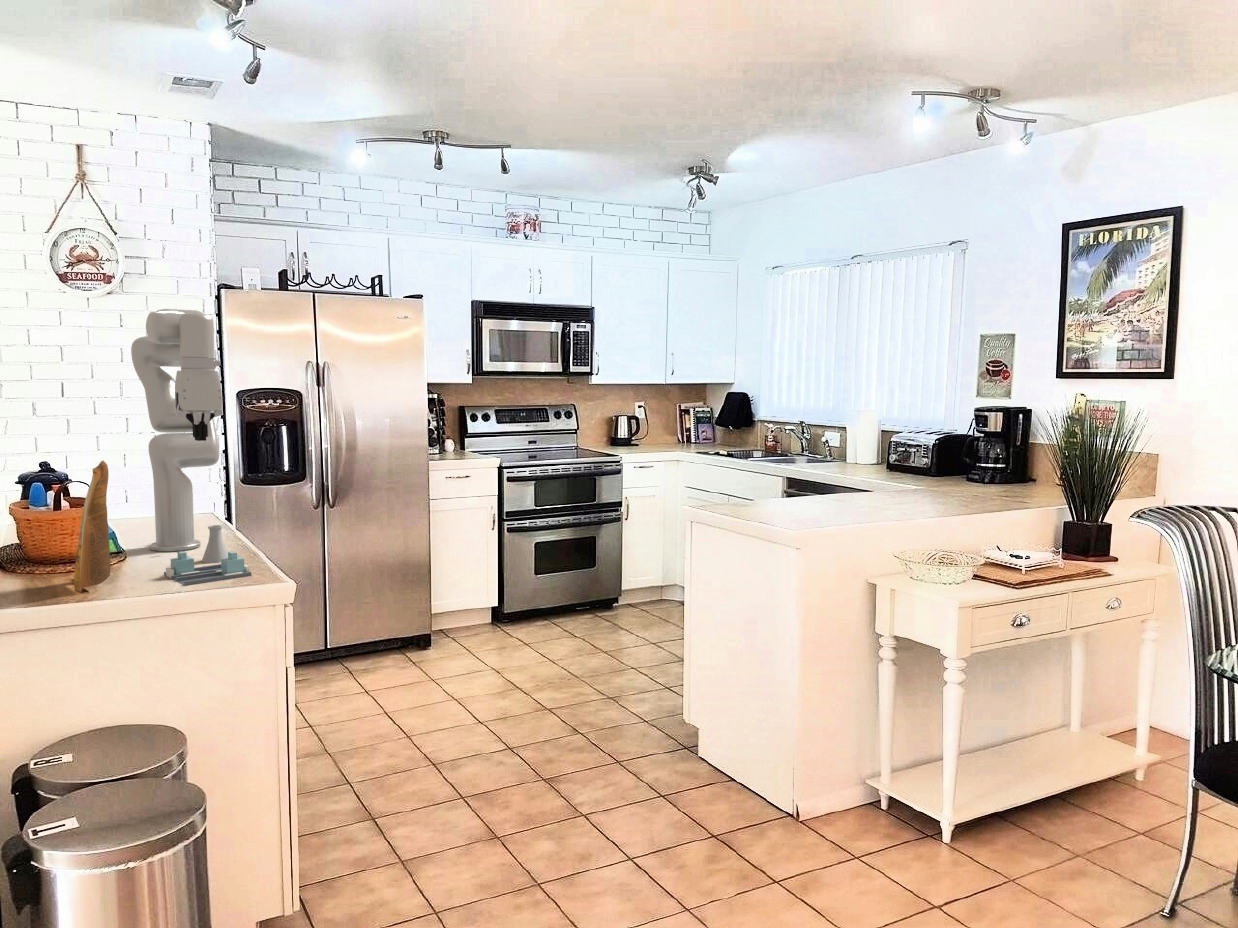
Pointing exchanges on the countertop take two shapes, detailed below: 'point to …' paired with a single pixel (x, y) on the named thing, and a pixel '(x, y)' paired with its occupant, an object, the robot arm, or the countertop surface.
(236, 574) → the switch bank
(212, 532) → the flask
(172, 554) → the countertop surface
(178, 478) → the robot arm
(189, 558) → the tab
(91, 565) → the pancake mix bag
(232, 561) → the tab
